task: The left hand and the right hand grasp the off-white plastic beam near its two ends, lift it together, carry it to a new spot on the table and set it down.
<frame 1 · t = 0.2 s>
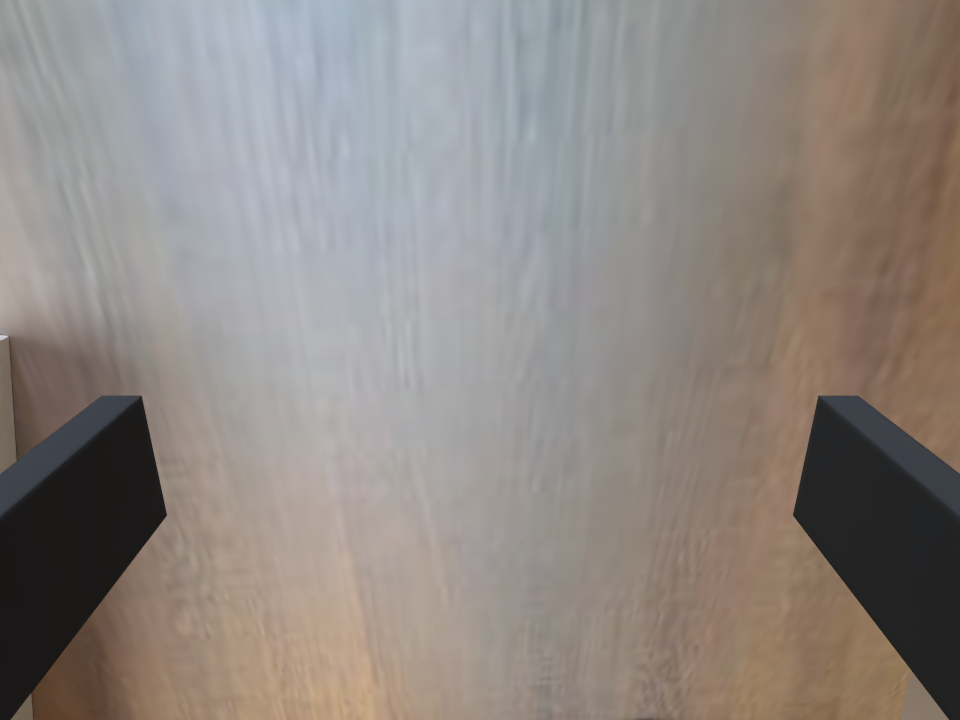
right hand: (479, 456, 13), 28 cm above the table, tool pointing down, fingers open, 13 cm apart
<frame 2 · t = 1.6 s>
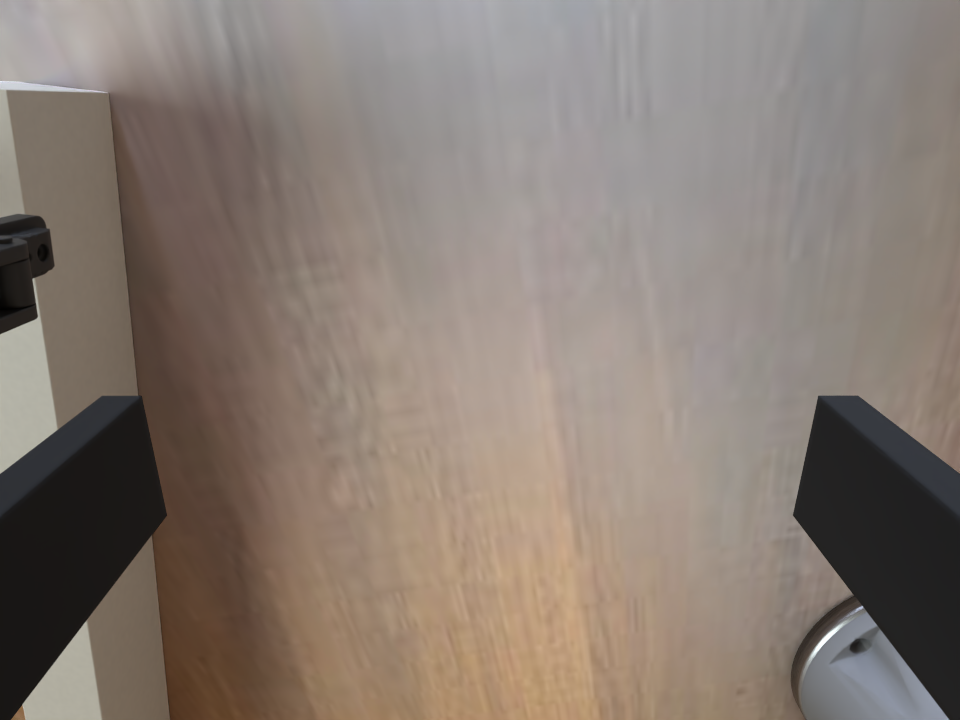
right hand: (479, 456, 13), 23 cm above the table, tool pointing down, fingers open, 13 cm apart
beam: (116, 523, 41), on the table
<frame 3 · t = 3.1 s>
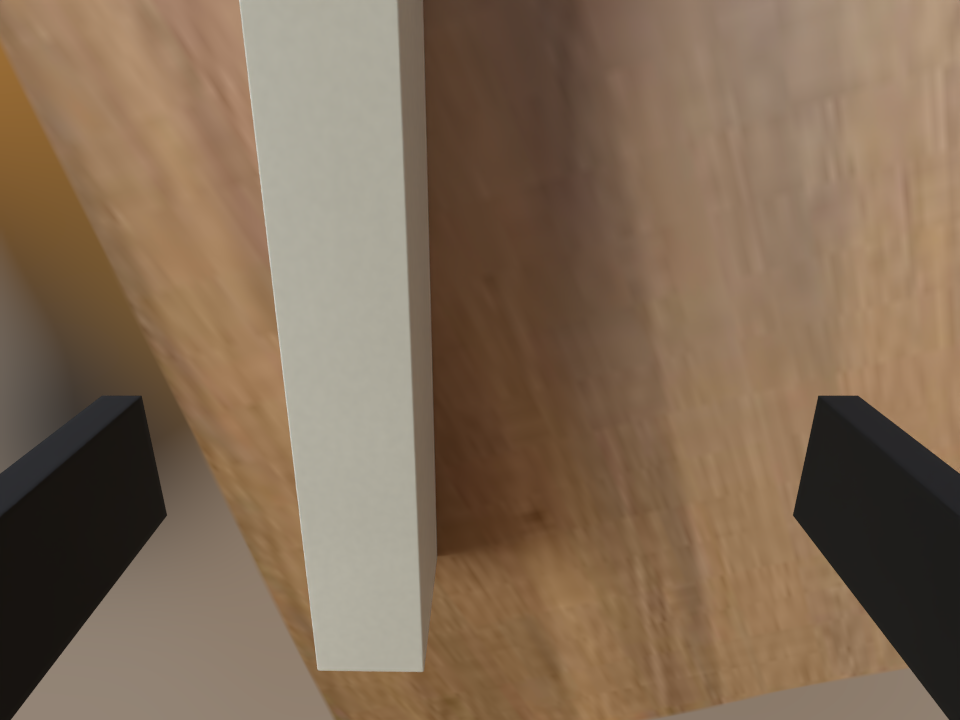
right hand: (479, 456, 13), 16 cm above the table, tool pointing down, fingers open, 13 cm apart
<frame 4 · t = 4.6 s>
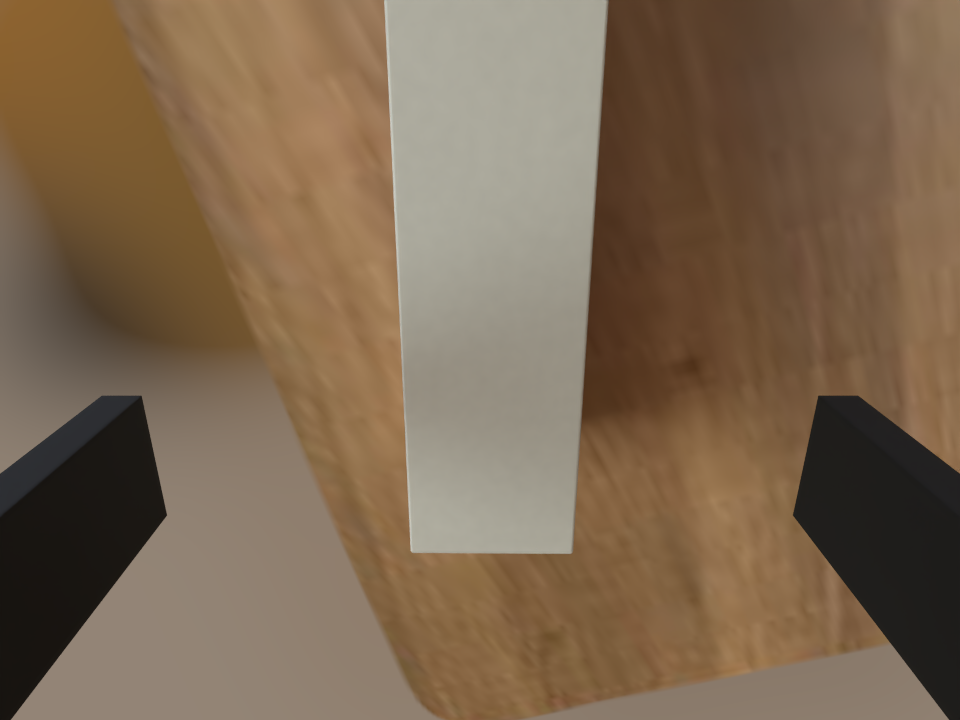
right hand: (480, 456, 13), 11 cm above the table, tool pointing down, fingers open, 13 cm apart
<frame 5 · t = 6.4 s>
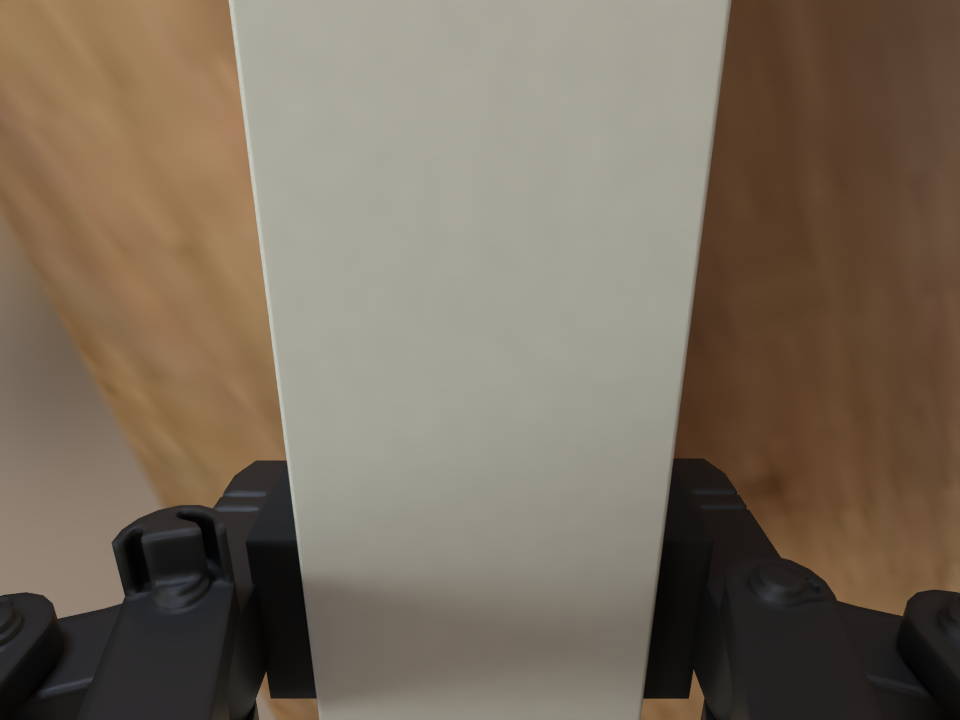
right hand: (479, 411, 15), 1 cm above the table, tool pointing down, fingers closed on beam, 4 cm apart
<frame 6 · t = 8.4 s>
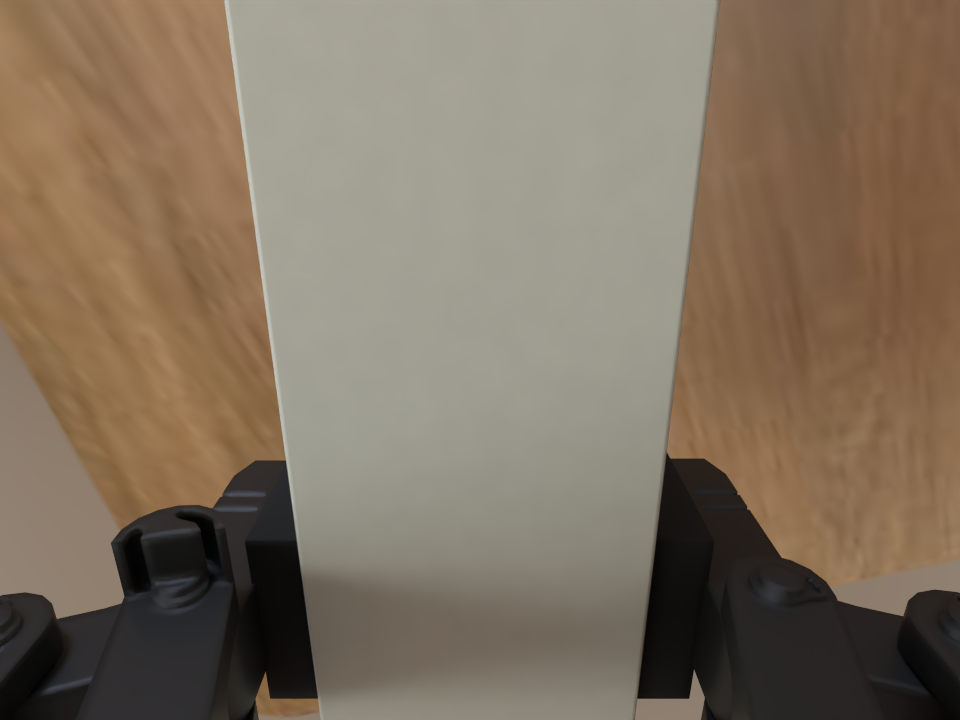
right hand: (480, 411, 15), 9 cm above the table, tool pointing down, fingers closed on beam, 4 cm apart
when the right hand's fingers open (2 cm above the table, at t = 10.5 s): beam stays where it is, on the table.
when the left hand's fingers open (3 cm above the table, at t = 10.7 s): beam stays where it is, on the table.
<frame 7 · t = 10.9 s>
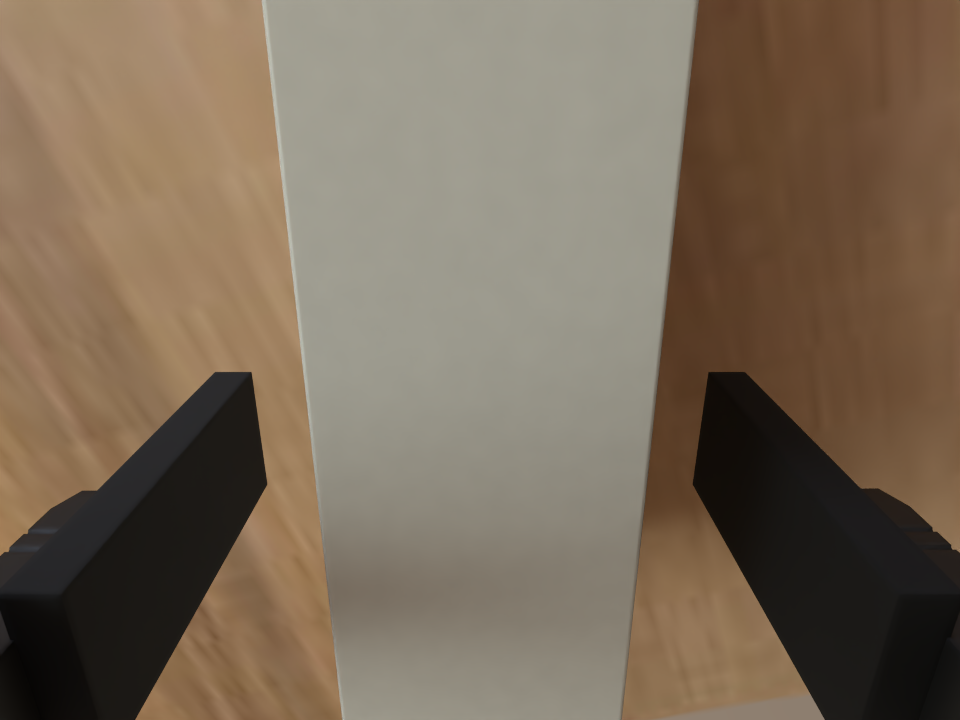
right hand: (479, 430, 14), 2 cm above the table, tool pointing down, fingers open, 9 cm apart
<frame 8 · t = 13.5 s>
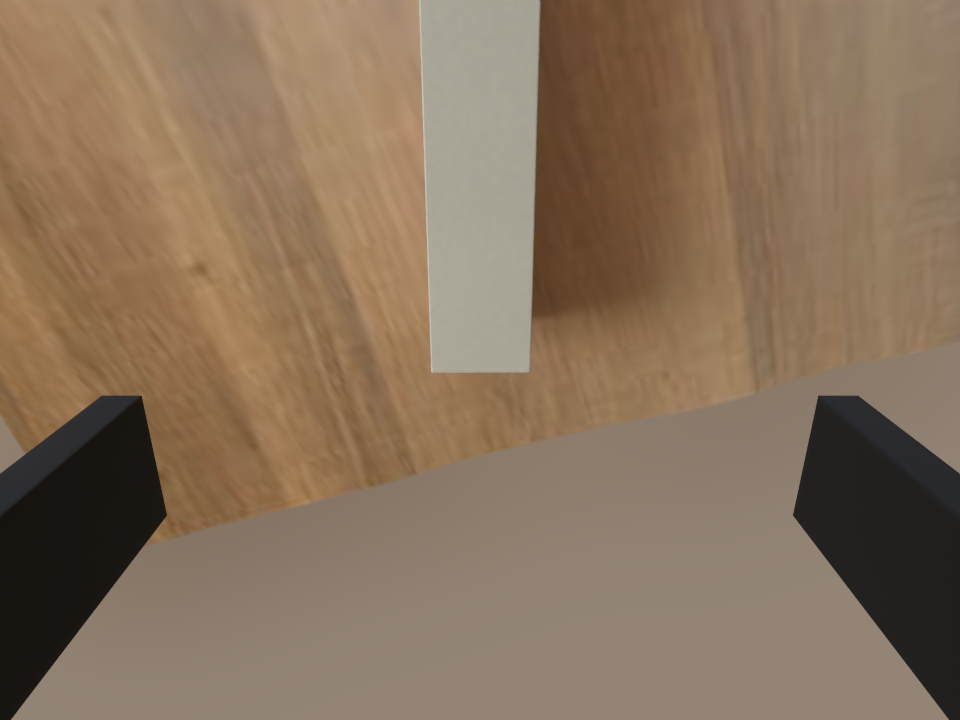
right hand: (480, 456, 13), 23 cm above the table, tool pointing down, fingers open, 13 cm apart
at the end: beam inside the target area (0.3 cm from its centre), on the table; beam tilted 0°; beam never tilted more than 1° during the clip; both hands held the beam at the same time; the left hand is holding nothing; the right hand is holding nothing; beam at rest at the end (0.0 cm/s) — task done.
